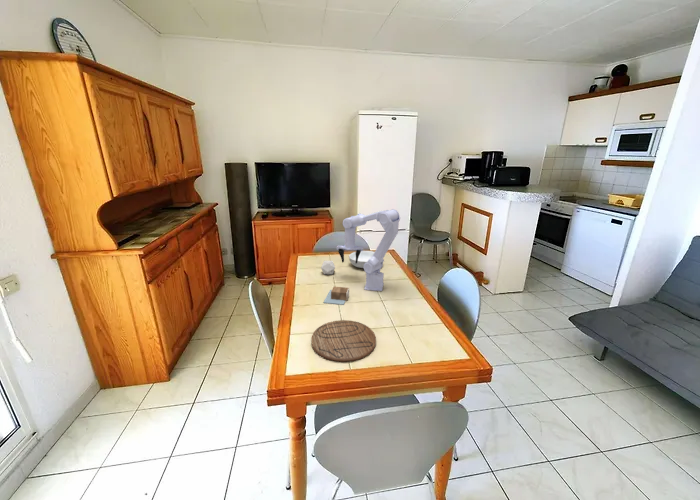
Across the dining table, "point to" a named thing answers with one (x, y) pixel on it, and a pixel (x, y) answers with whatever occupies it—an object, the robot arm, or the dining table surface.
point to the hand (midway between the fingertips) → (349, 262)
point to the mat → (333, 300)
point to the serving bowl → (360, 258)
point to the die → (328, 267)
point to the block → (340, 293)
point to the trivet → (343, 341)
